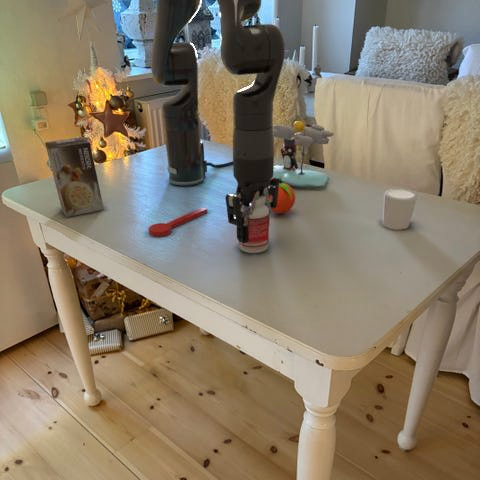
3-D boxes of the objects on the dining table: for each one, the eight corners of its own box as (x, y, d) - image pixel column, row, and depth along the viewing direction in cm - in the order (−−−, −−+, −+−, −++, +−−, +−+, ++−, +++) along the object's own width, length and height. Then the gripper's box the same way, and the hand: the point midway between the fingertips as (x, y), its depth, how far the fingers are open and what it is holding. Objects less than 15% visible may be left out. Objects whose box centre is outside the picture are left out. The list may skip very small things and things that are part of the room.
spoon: (197, 209, 118) (197, 204, 117) (212, 214, 115) (212, 209, 115) (144, 233, 107) (144, 228, 107) (159, 239, 105) (159, 233, 104)
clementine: (303, 215, 114) (304, 185, 110) (278, 222, 111) (279, 191, 107) (283, 204, 119) (284, 175, 115) (259, 210, 116) (259, 181, 112)
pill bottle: (274, 249, 100) (275, 196, 94) (249, 257, 97) (249, 203, 91) (257, 238, 104) (257, 187, 98) (232, 245, 101) (231, 194, 95)
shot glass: (412, 220, 110) (418, 189, 106) (410, 232, 105) (416, 201, 101) (381, 216, 112) (385, 186, 108) (378, 228, 107) (382, 197, 103)
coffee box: (97, 201, 123) (85, 135, 114) (104, 210, 119) (91, 142, 109) (60, 209, 120) (44, 141, 111) (65, 218, 115) (49, 148, 106)
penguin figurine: (252, 179, 134) (252, 121, 126) (274, 169, 141) (275, 113, 133) (315, 194, 124) (320, 132, 116) (336, 182, 131) (341, 123, 123)
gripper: (244, 165, 83) (245, 254, 93) (292, 146, 92) (289, 228, 102) (211, 158, 87) (216, 243, 97) (260, 140, 96) (260, 219, 106)
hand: (253, 235), depth 99 cm, fingers closed on pill bottle, 6 cm apart
